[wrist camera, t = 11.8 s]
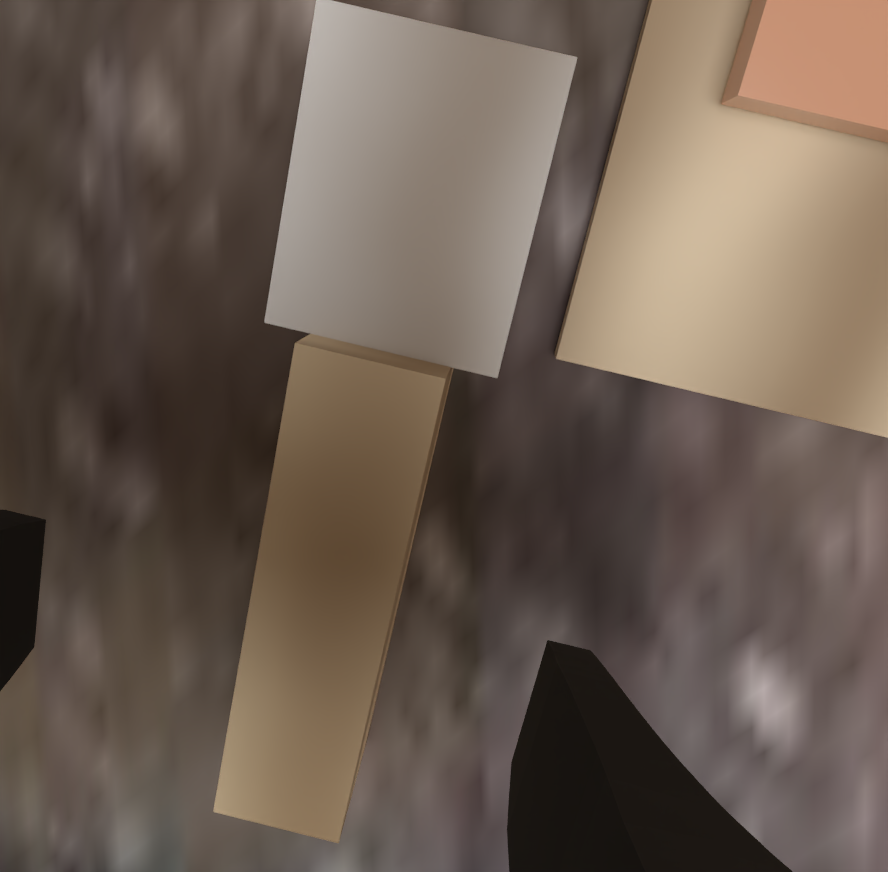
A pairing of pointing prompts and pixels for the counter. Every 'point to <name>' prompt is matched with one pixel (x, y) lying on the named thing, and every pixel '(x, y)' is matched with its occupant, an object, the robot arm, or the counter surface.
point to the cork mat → (733, 240)
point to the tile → (815, 64)
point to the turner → (374, 368)
